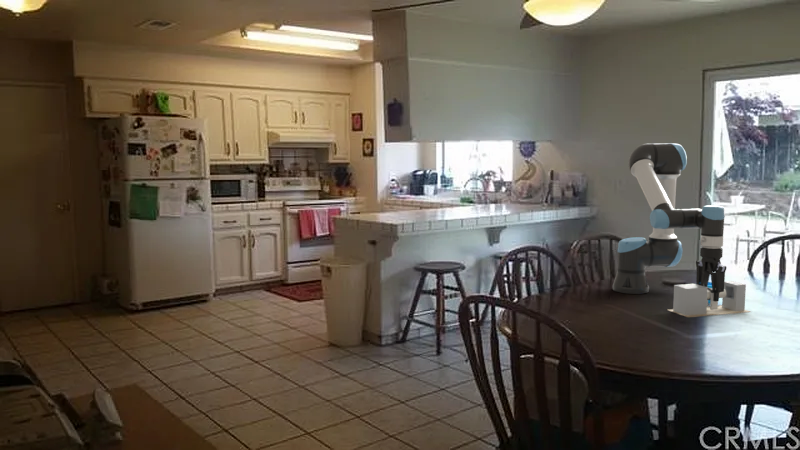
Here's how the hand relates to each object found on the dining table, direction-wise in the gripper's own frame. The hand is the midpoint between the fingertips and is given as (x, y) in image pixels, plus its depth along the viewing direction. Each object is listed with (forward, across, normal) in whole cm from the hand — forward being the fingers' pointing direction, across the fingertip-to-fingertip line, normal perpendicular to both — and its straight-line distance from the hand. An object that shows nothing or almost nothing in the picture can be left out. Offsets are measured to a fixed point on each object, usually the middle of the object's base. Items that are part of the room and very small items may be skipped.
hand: (708, 307), depth 242 cm
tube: (-3, 0, -3) cm, 4 cm away
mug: (+2, -15, +12) cm, 19 cm away
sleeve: (+1, 0, -8) cm, 8 cm away
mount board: (+2, 0, 0) cm, 2 cm away
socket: (+1, 0, +11) cm, 11 cm away
